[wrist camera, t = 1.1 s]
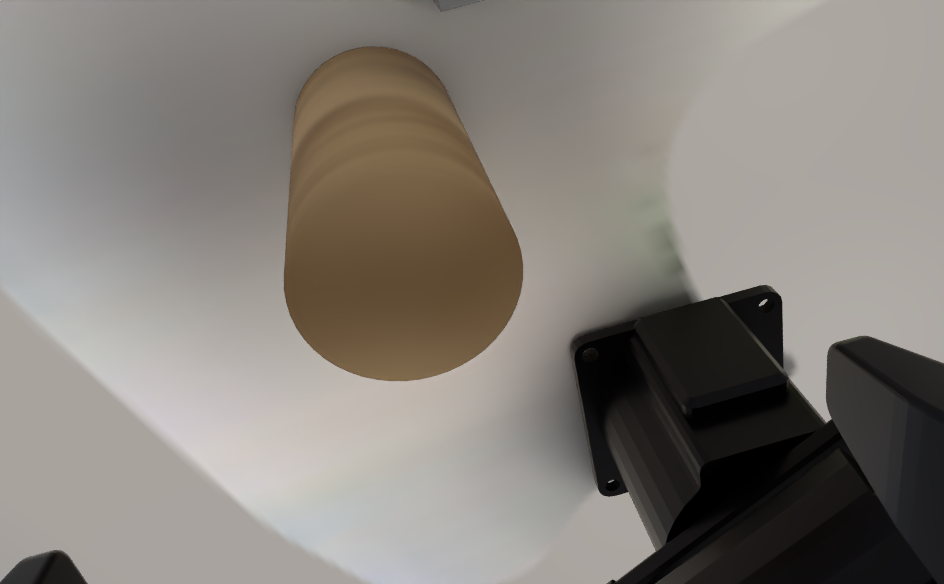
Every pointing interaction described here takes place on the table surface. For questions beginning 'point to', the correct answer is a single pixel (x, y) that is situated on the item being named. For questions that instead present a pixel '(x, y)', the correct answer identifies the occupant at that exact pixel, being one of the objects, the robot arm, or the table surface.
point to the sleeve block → (453, 3)
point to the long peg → (393, 223)
